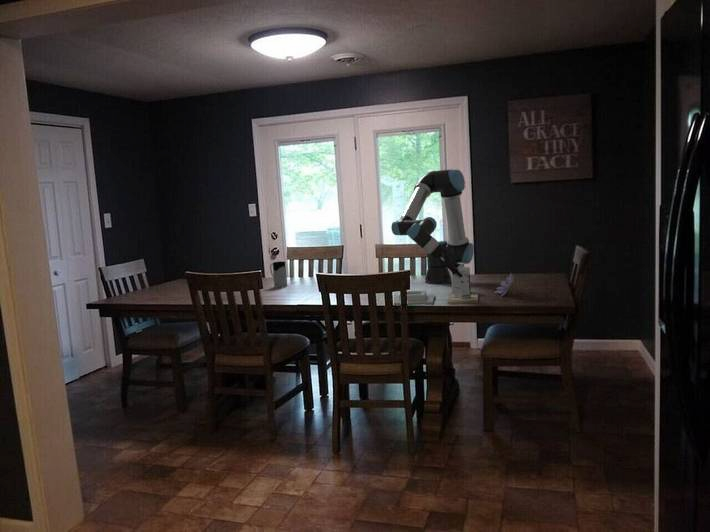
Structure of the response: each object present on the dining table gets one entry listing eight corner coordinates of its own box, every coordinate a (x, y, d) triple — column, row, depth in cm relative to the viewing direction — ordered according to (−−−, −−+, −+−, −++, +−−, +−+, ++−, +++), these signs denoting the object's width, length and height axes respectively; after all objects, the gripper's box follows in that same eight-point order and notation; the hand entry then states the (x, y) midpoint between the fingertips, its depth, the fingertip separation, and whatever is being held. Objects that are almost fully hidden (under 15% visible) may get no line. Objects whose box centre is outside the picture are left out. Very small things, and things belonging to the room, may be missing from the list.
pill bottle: (467, 293, 301) (466, 264, 299) (451, 293, 303) (450, 264, 301) (467, 290, 309) (466, 261, 307) (452, 290, 311) (451, 262, 309)
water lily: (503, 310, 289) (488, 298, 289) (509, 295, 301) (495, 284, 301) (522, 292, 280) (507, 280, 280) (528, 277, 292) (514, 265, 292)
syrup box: (461, 298, 282) (460, 268, 280) (454, 297, 287) (453, 267, 285) (471, 297, 284) (470, 267, 282) (464, 295, 289) (463, 266, 287)
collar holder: (395, 297, 302) (395, 289, 301) (435, 296, 298) (434, 288, 297) (390, 305, 282) (389, 297, 282) (432, 304, 278) (432, 296, 278)
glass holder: (278, 288, 353) (276, 263, 351) (265, 286, 364) (263, 262, 362) (291, 286, 359) (289, 261, 357) (277, 284, 369) (275, 260, 367)
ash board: (449, 296, 295) (449, 294, 295) (477, 295, 293) (477, 293, 292) (447, 303, 278) (447, 301, 278) (478, 303, 275) (477, 300, 275)
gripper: (430, 251, 298) (462, 280, 296) (427, 257, 273) (461, 289, 272) (440, 240, 296) (472, 269, 295) (438, 246, 272) (472, 277, 271)
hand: (467, 278), depth 284 cm, fingers open, 13 cm apart
